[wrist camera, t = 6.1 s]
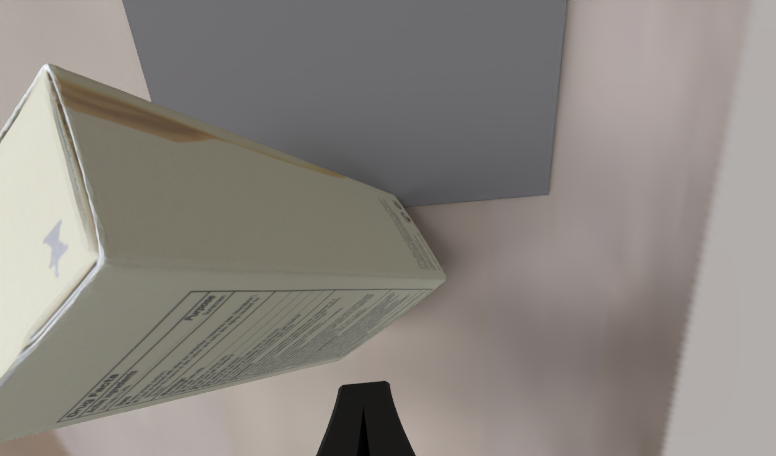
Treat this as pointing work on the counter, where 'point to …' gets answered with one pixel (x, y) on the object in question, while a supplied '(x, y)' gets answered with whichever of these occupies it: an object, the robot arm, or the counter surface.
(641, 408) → the counter surface
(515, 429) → the counter surface
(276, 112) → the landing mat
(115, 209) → the skincare box
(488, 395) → the counter surface
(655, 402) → the counter surface
